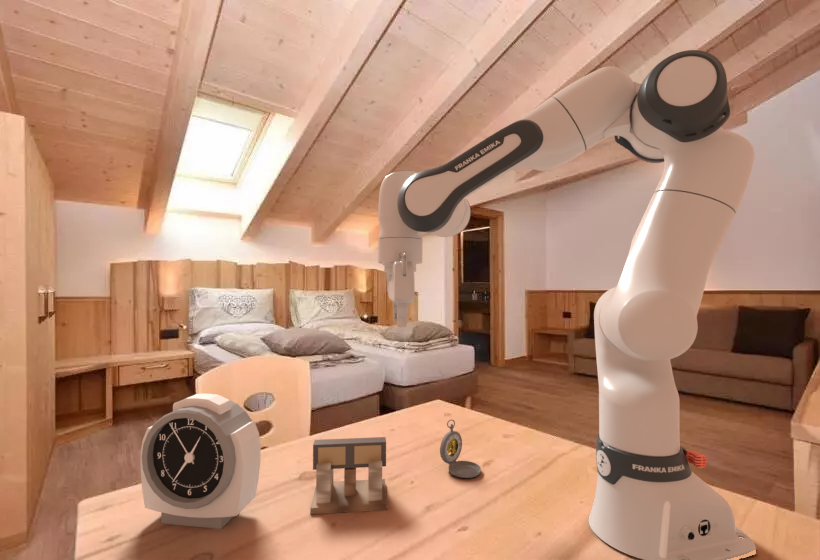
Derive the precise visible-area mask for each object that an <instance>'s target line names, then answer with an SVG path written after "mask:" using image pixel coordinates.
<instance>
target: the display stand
mask: <svg viewBox="0 0 820 560" xmlns="http://www.w3.org/2000/svg"><path fill="white" fill-rule="evenodd" d="M367 468H368V471H367V472H368V474H367V476H368V477H367V478H368V479H359V480H357V468H343V470H344V474H343V475H344V476H343V477H344V478H343V479H344V480H340V481H339V480H337V481H334V469H331V463H318V464H317V466H316V470H315V471H316V472H315V473H316V475H315V479H316V480H315V482H316V483H315V484H316V486H315V489H314V493H313V497H312V500H311V504H310V511H309V513H310V515H318V514H322V515H323V514H336V513H338V514H339V513H340V514H341V513H357V512H372V511H373V512H374V511H387V510H388V501H387V498H388V497H387V490H386V489H387V487H386V479H385V478H383V467H382V461H369V467H367Z"/></svg>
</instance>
